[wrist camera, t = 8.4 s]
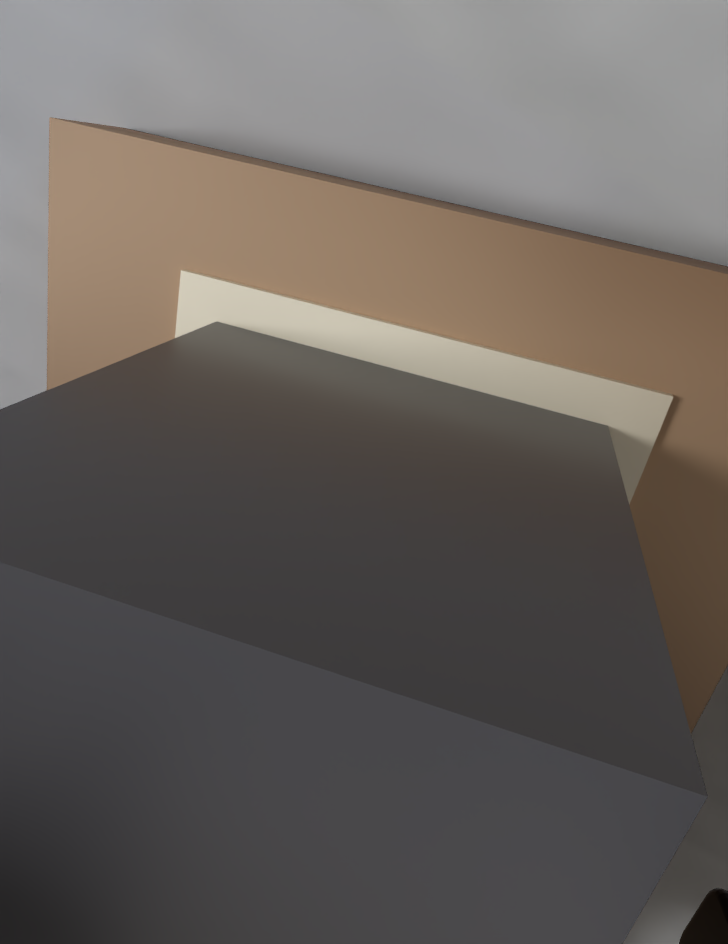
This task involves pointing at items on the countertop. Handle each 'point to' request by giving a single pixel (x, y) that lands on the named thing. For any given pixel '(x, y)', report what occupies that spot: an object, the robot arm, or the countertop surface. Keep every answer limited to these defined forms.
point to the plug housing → (324, 661)
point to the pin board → (417, 321)
